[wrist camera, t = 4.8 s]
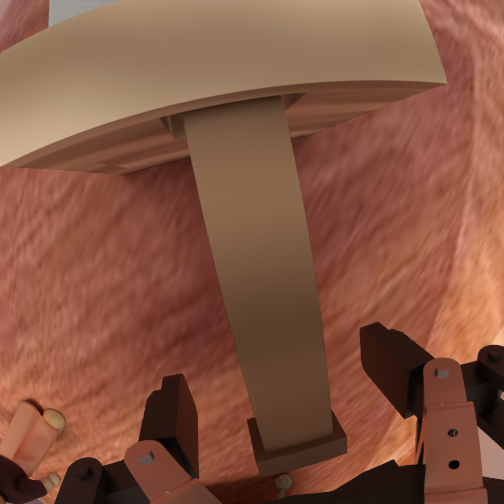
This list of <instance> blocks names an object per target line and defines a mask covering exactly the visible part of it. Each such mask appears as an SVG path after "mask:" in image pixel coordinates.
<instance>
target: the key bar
mask: <svg viewBox="0 0 504 504" xmlns="http://www.w3.org/2000/svg"><path fill="white" fill-rule="evenodd" d="M182 116H183V122H184V127H185V132H186V137H187V142H188V147H189V152H190V156H191V161H192V166H193V171H194V175H195V180H196V185H197V189H198V194H199V199H200V203H201V208H202V212H203V216H204V221H205V225H206V230H207V234H208V238H209V243H210V247H211V251H212V255H213V259H214V264H215V268H216V272H217V276H218V280H219V284H220V288H221V292H222V296H223V300H224V304H225V308H226V312H227V316H228V320H229V324H230V328H231V331H232V335H233V339H234V343H235V347H236V350H237V354H238V358H239V361H240V365H241V369H242V372H243V376H244V380H245V383H246V387H247V390H248V394H249V397H250V401H251V404H252V408H253V411H254V415H255V418H251V419H247V422H248V427H249V432H250V437H251V441H252V446H253V451H254V455H255V460H256V464H257V467H258V470H259V472H260V475H261V478H263V477H267V476H272V475H276V474H280V473H284V472H288V471H291V470H295V469H299V468H302V467H306V466H309V465H312V464H315V463H319V462H322V461H325V460H328V459H331V458H334V457H337V456H340V455H342V454H345V453H347V436H346V434H345V432H344V431H343V429H342V427H341V425H340V424H339V422H338V420H337V418H336V416H335V415H334V413H333V411H332V409H331V402H330V392H329V381H328V372H327V362H326V354H325V345H324V337H323V328H322V321H321V313H320V306H319V298H318V291H317V284H316V277H315V271H314V264H313V258H312V251H311V245H310V239H309V233H308V227H307V221H306V216H305V210H304V204H303V199H302V194H301V188H300V183H299V178H298V173H297V167H296V162H295V157H294V152H293V148H292V143H291V138H290V133H289V129H288V124H287V120H286V115H285V111H284V106H283V102H282V97H281V95H275V96H268V97H260V98H254V99H247V100H241V101H235V102H229V103H224V104H218V105H213V106H208V107H203V108H198V109H194V110H189V111H185V112H182Z"/></svg>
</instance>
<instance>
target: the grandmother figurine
mask: <svg viewBox="0 0 504 504" xmlns="http://www.w3.org/2000/svg"><path fill="white" fill-rule="evenodd" d="M64 426H65V419H64V417H63V416H62V415H61V414H60V413H58V412H56V411H55V410H52V409H46V410H45V411H44V413H43V416H41V414H40V413H39V412H38V410H37V408H36V407H35V406H34V405H33V404H31V403H30V402H27V401H24V400H22V401H20V402H19V405H18V410H17V412H16V414H15V415H14V417H13V419H12V421H11V423H10V425H9V427H8V429H7V431H6V433H5V436H4V437H3V439H2V441H1V442H0V504H6V502H8V503H12V504H23V503H27V502H29V501H32V500H35V499H38V498H40V497H43V496H45V495H47V493H48V492H49V491H51V490H52V489H53V488H54V486H56V485H59V484H60V483H61V478H60V476H59V475H58V474H57V473H55V472H50V473H49V474H48V475H47V477H43V478H41V479H39V480H31V479H29V478H30V477H31V475H32V473H33V472H34V471H35V469H36V468H37V467H38V466H39V464H40V463H41V461H42V460H43V459H44V457H45V456H46V455H47V453H48V452H49V450H50V448H51V447H52V444H53V442H54V441H55V439H56V437H57V434H60V433H61V432H62V431H63V428H64Z"/></svg>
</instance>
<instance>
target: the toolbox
mask: <svg viewBox="0 0 504 504" xmlns="http://www.w3.org/2000/svg"><path fill="white" fill-rule="evenodd" d="M445 84H448V83H447V79H446V76H445V72H444V69H443V66H442V62H441V59H440V56H439V53H438V50H437V47H436V44H435V41H434V38H433V35H432V33H431V30H430V27H429V25H428V22H427V19H426V17H425V14H424V12H423V10H422V7H421V5H420V2H419V0H119V1H116V2H112V3H109V4H106V5H103V6H100V7H98V8H95V9H92V10H89V11H87V12H84V13H81V14H79V15H76V16H74V17H71V18H69V19H67V20H64V21H62V22H60V23H57V24H55V25H53V26H51V27H49V28H46V29H44V30H42V31H40V32H38V33H36V34H34V35H32V36H30V37H28V38H26V39H24V40H22V41H21V42H19V43H17V44H15V45H13V46H12V47H10V48H8V49H6V50H5V51H3V52H1V53H0V167H19V168H38V169H54V170H68V171H81V172H93V173H104V174H115V175H124V174H127V173H131V172H134V171H138V170H142V169H145V168H149V167H153V166H157V165H161V164H164V163H168V162H172V161H177V160H181V159H185V158H189V157H191V156H190V152H189V147H188V142H187V137H186V132H185V127H184V122H183V116H182V112H185V111H189V110H194V109H198V108H203V107H208V106H213V105H218V104H224V103H229V102H235V101H241V100H247V99H254V98H260V97H268V96H275V95H281V97H282V102H283V106H284V111H285V115H286V120H287V124H288V129H289V133H290V138H294V137H301V136H308V135H314V134H316V133H318V132H321V131H323V130H325V129H328V128H330V127H332V126H335V125H337V124H339V123H342V122H344V121H347V120H349V119H352V118H354V117H357V116H359V115H362V114H364V113H367V112H369V111H372V110H374V109H377V108H380V107H382V106H385V105H387V104H390V103H393V102H396V101H398V100H401V99H404V98H407V97H409V96H412V95H415V94H418V93H421V92H424V91H427V90H429V89H432V88H435V87H438V86H442V85H445Z"/></svg>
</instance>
